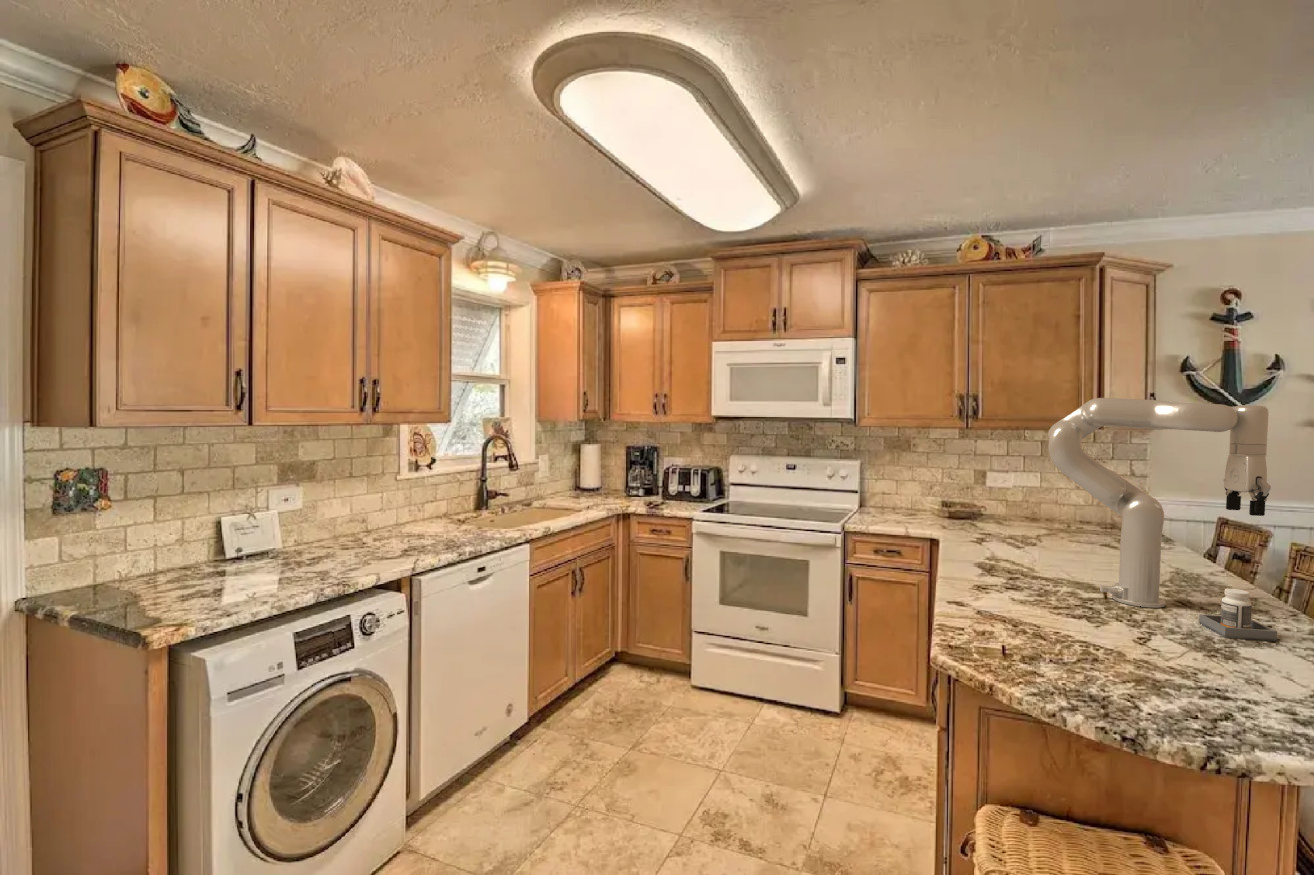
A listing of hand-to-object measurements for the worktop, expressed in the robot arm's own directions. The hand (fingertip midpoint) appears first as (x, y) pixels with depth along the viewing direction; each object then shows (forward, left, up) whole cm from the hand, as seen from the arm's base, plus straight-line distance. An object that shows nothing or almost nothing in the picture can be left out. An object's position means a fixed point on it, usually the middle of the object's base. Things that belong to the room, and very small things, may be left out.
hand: (1244, 512), depth 176 cm
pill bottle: (-11, -17, -28) cm, 34 cm away
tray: (-10, -17, -28) cm, 35 cm away
